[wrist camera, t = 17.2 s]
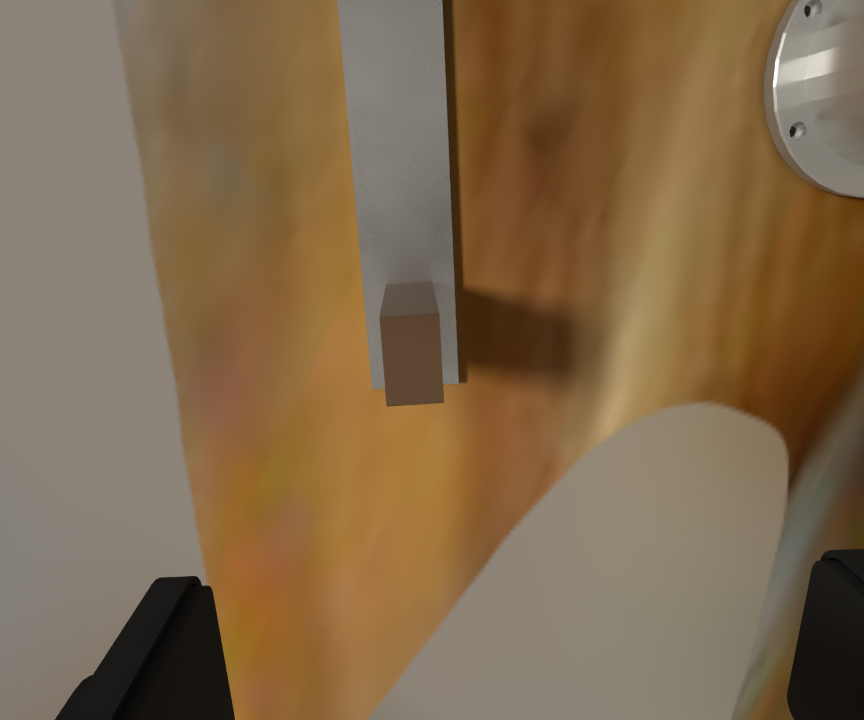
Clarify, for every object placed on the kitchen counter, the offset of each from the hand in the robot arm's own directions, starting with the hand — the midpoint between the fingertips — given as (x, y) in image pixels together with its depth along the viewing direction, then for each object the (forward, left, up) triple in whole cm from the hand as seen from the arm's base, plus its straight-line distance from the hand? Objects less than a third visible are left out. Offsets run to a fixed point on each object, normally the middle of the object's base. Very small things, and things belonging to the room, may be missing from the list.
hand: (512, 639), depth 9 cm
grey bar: (-2, -7, -25) cm, 26 cm away
